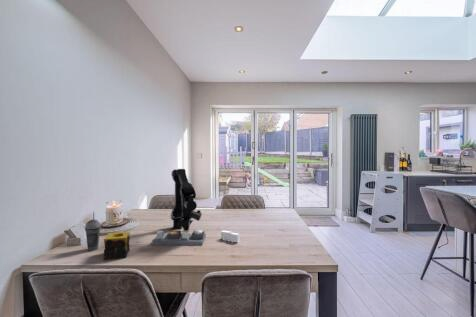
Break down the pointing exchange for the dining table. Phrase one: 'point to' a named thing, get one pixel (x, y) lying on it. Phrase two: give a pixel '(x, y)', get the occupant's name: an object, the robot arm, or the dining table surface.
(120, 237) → the black and yellow box
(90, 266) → the dining table surface
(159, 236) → the grey metal block
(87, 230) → the beverage cup
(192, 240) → the control panel
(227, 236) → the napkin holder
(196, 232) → the button grey
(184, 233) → the lever ivory
